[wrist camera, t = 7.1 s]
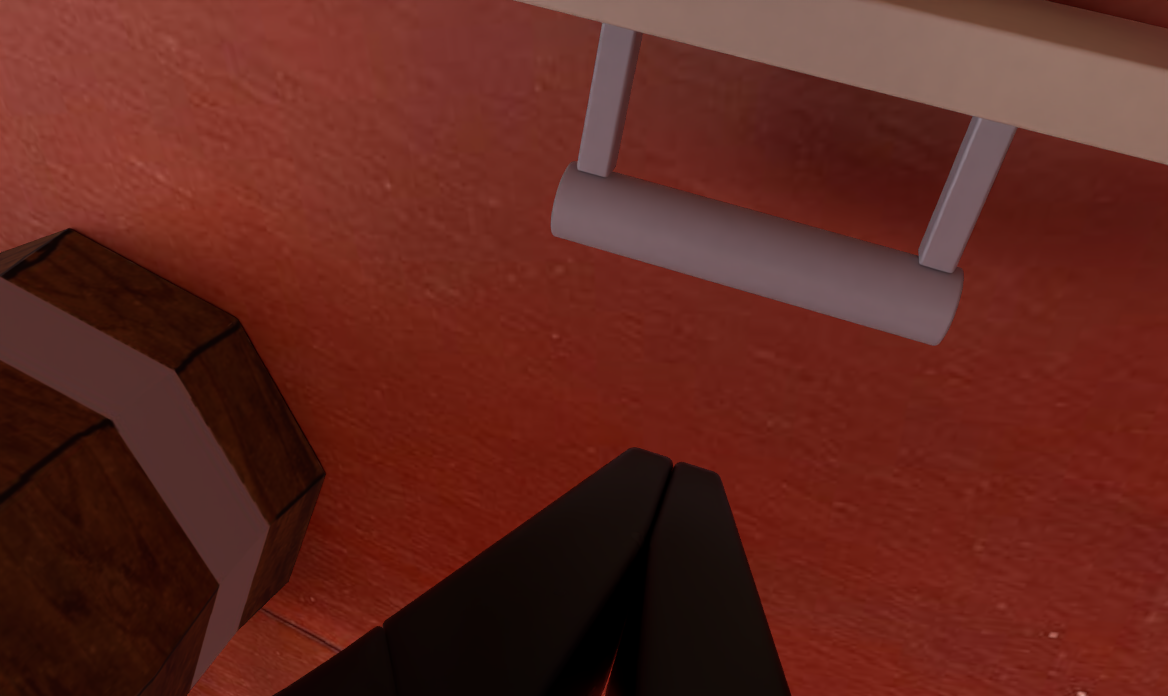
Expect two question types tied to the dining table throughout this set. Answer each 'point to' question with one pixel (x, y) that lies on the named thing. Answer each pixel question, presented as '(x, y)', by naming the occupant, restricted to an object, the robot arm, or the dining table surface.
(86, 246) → the mug
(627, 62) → the drawer
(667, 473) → the robot arm
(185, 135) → the dining table surface
